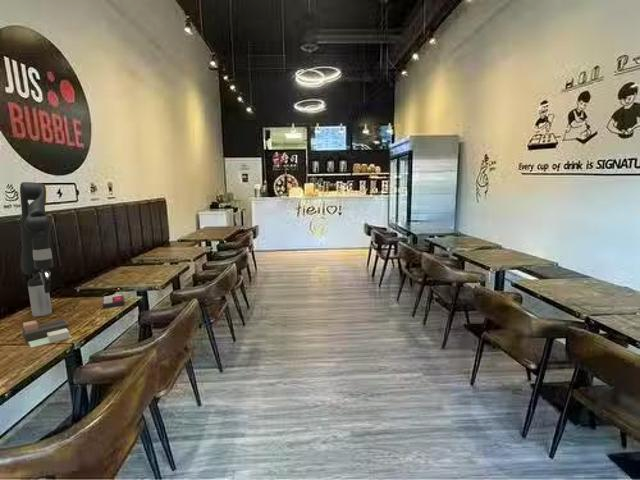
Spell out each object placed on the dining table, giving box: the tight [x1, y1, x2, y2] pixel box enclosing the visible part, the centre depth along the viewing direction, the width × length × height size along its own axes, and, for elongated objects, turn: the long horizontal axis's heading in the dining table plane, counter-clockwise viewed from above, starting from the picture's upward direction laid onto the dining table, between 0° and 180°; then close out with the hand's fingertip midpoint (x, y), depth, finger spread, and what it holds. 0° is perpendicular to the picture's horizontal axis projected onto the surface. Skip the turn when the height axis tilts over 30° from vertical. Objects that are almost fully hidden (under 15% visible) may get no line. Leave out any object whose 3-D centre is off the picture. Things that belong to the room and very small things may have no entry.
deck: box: [21, 318, 70, 343], centre depth 197 cm, size 12×17×4 cm
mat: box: [27, 334, 73, 349], centre depth 189 cm, size 9×16×1 cm, turn 132°
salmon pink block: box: [22, 320, 39, 332], centre depth 193 cm, size 6×5×3 cm
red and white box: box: [102, 293, 125, 310], centre depth 243 cm, size 11×4×15 cm
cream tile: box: [47, 328, 71, 343], centre depth 190 cm, size 6×8×3 cm
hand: (47, 292), depth 197 cm, fingers closed
